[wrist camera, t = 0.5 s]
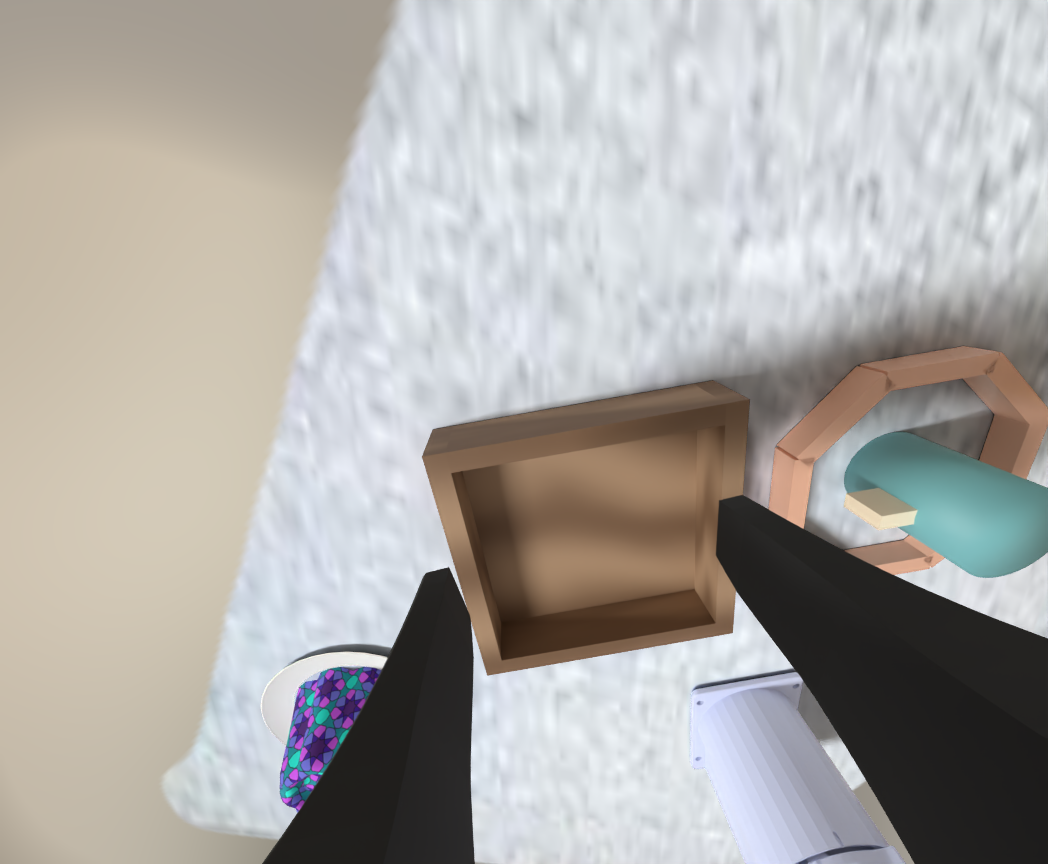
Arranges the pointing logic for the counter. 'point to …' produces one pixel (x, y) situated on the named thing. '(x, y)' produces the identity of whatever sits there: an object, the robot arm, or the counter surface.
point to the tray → (592, 522)
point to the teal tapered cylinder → (949, 503)
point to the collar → (865, 386)
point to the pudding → (315, 714)
